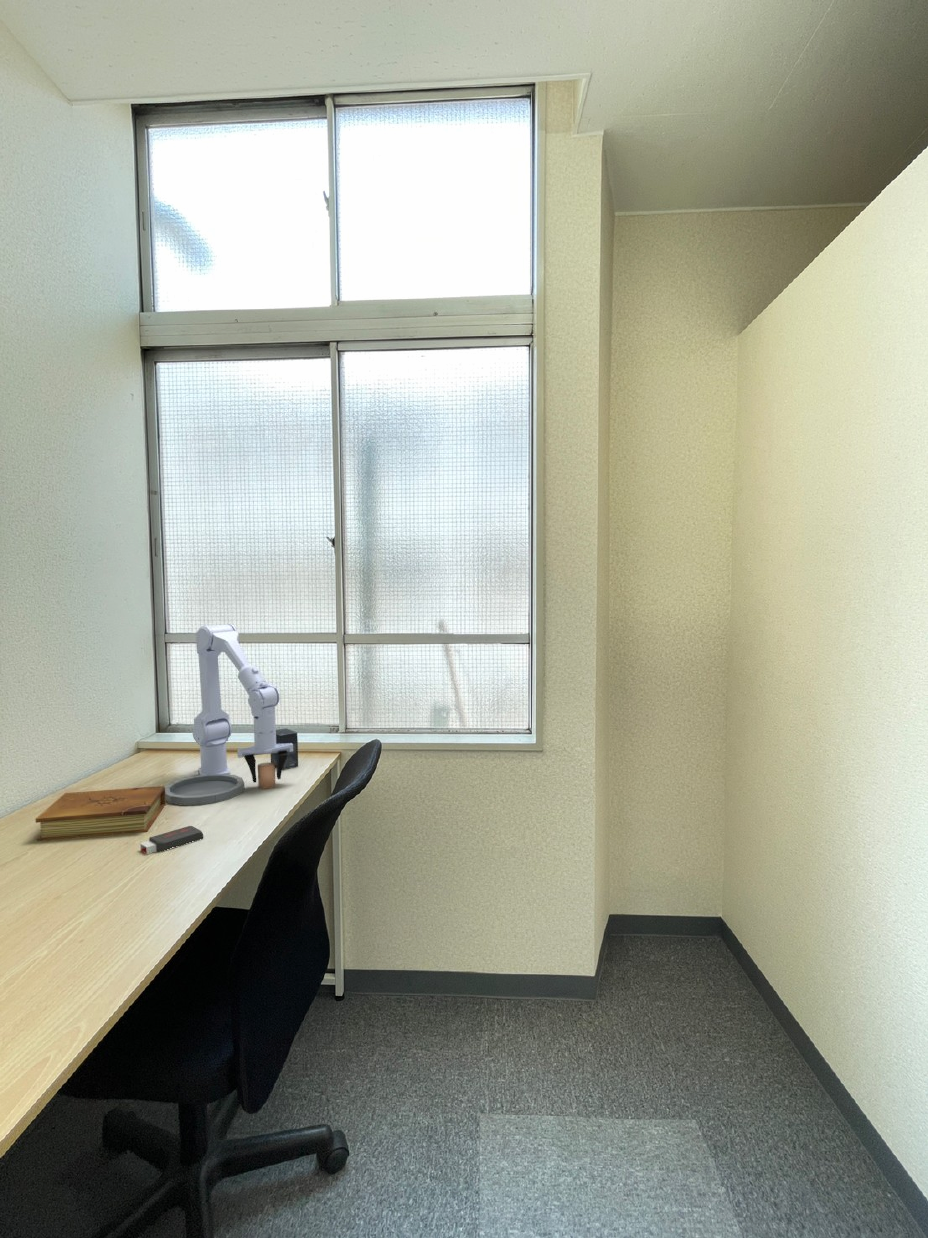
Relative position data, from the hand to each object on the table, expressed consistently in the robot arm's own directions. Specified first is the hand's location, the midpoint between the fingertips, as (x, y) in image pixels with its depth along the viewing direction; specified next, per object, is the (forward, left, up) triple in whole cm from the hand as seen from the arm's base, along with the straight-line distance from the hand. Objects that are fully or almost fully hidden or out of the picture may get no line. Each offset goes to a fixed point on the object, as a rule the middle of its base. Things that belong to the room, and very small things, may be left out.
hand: (266, 779), depth 190 cm
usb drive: (+32, -25, -2) cm, 41 cm away
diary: (+10, -39, -2) cm, 40 cm away
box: (-18, +8, -2) cm, 20 cm away
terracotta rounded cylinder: (0, 0, -2) cm, 2 cm away
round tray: (-2, -16, -2) cm, 16 cm away
